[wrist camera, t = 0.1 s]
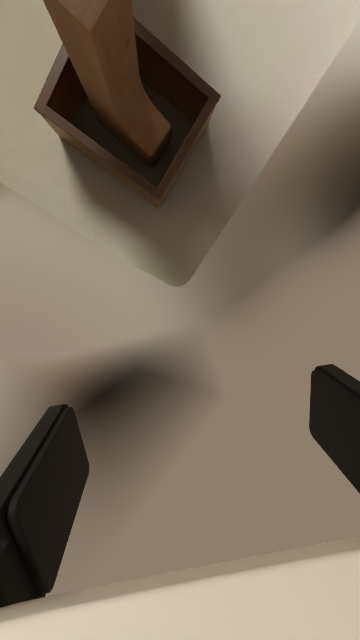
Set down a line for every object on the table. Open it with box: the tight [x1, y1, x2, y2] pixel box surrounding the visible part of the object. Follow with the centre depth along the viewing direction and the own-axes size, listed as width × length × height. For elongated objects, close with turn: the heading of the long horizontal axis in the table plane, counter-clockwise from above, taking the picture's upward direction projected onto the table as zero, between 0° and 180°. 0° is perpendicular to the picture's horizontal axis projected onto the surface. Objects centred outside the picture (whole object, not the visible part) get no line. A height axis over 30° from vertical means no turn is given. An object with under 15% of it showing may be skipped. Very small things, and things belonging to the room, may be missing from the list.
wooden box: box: [34, 17, 221, 208], centre depth 30 cm, size 13×16×7 cm
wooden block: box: [43, 0, 172, 167], centre depth 24 cm, size 9×4×18 cm, turn 52°
